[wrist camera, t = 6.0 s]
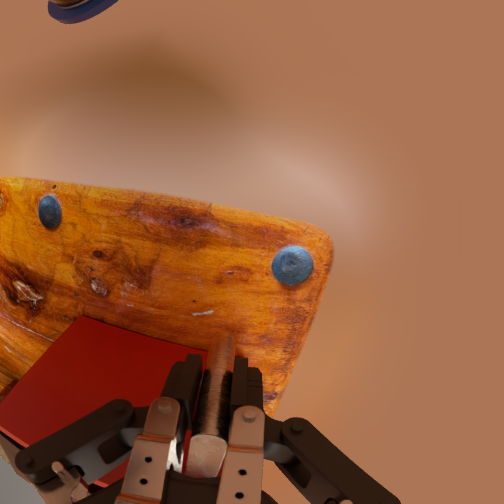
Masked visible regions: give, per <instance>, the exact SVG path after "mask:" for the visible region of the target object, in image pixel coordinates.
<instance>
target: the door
mask: <svg viewBox="0 0 504 504" xmlns="http://www.w3.org/2000/svg"><path fill="white" fill-rule="evenodd" d="M235 349H236V340H235V338H234V336H233V335H232V334H230V333H228V332H223V331H222V332H217V333H215V334H214V335H213V336H212V337H211V341H210V345H209V350H208V352H207V351H203V350H198V349H194V348H190V347H186V346H182V345H178V344H174V343H170V342H166V341H162V340H159V339H155V338H151V337H148V336H144V335H141V334H137V333H134V332H131V331H128V330H124V329H121V328H118V327H115V326H112V325H109V324H106V323H103V322H100V321H97V320H94V319H91V318H88V317H86V316H83V315H80V316H79V317H78V318H77V319H76V320H75V321H74V322H73V323H72V324H71V325H70V326H69V327H68V328H67V330H66V331H65V332H64V333H63V334H62V335H61V336H60V337H59V338H58V339H57V340H56V341H55V342H54V343H53V344H52V345H51V346H50V347H49V348H48V349H47V351H46V352H45V353H44V354H43V355H42V356H41V357H40V358H39V359H38V360H37V361H36V363H35V364H34V365H33V366H32V367H31V368H30V369H29V370H28V372H27V373H26V374H25V375H24V376H23V377H22V378H21V380H20V381H19V382H18V383H17V384H16V385H15V387H14V388H13V389H12V390H11V391H10V393H9V394H8V395H7V396H6V397H5V399H4V400H3V401H2V402H1V404H0V430H1V431H2V432H4V433H5V434H6V435H8V436H9V437H11V438H12V439H13V440H15V441H16V442H18V443H19V444H21V445H22V446H24V447H25V448H26V447H28V446H30V445H32V444H34V443H36V442H38V441H40V440H42V439H44V438H45V437H47V436H49V435H51V434H53V433H55V432H57V431H59V430H60V429H62V428H64V427H66V426H68V425H69V424H71V423H73V422H75V421H77V420H78V419H80V418H82V417H84V416H86V415H87V414H89V413H91V412H92V411H94V410H96V409H98V408H99V407H101V406H103V405H104V404H106V403H108V402H110V401H111V400H114V399H125V400H128V401H129V402H131V403H132V405H133V407H142V406H149V405H151V403H152V401H154V400H155V399H157V398H159V397H160V395H161V392H162V390H163V387H164V384H165V382H166V379H167V377H168V374H169V372H170V369H171V366H172V365H173V364H175V363H176V362H177V361H184V362H185V360H186V357H187V354H188V353H195V354H202V362H203V378H202V383H201V388H200V393H199V397H198V402H197V407H196V412H195V417H194V422H193V427H192V431H191V430H187V432H186V436H185V447H184V455H183V463H182V474H184V475H187V476H190V477H192V478H210V477H220V476H221V475H222V469H223V464H224V458H225V453H226V448H227V446H228V443H229V438H230V435H229V429H230V426H229V420H230V398H231V387H232V377H233V367H234V357H235ZM129 459H130V458H128V459H127V460H126V461H124V462H123V463H121V464H120V465H118V466H117V467H116V468H114V469H113V470H111V471H110V472H108V473H107V474H105V475H104V476H102V477H101V478H99V479H98V480H96V481H95V482H93V483H94V484H96V485H99V486H101V487H104V488H105V487H107V486H108V485H110V484H112V483H114V482H116V481H118V480H119V479H121V478H123V477H125V474H126V470H127V466H128V463H129Z"/></svg>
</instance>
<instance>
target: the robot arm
mask: <svg viewBox="0 0 504 504" xmlns="http://www.w3.org/2000/svg"><path fill="white" fill-rule="evenodd" d="M49 1H51V2H52V3H54V4H55V5H56V6H57V7H58V8H60V9H62V10H72V9H75V8H78V7H81V6H83V5H85V4H87V3H89V2H91V1H93V0H49ZM202 378H203V362H202V354H195V353H188V354H187V357H186V360H185V362H184V361H177V362H176V363H175V364H173V365H172V366H171V369H170V372H169V374H168V377H167V379H166V382H165V384H164V387H163V390H162V392H161V395H160V397H159V398H157V399H155V400H154V401H152V403H151V405H149V406H142V407H133V405H132V403H131V402H129V401H128V400H125V399H114V400H111V401H110V402H108V403H106V404H104V405H103V406H101V407H99V408H98V409H96V410H94V411H92V412H91V413H89V414H87V415H86V416H84V417H82V418H80V419H78V420H77V421H75V422H73V423H71V424H69V425H68V426H66V427H64V428H62V429H60V430H59V431H57V432H55V433H53V434H51V435H49V436H47V437H45V438H44V439H42V440H40V441H38V442H36V443H34V444H32V445H30V446H28V447H26V448H24V449H22V450H20V451H19V452H18V453H17V454H16V456H15V465H16V467H17V468H18V470H19V471H20V472H21V473H22V474H23V475H24V476H25V478H26V479H27V480H28V481H29V482H30V483H31V484H32V485H33V486H34V487H35V488H36V489H37V490H38V492H39V494H40V495H41V497H42V498H43V499H44V501H45V502H46V504H278V503H277V502H276V501H275V500H274V499H273V498H272V497H271V496H270V495H268V494H267V493H266V492H264V491H263V490H261V489H262V474H263V459H267V460H271V461H274V462H275V464H276V466H277V467H278V468H279V469H280V470H281V471H282V473H283V474H284V475H285V476H286V477H287V478H288V479H289V481H290V482H291V483H292V484H293V485H294V486H295V487H296V488H297V489H298V490H299V492H300V493H301V494H302V495H303V496H304V497H305V498H306V499H307V500H308V501H309V502H310V503H311V504H401V502H400V501H399V499H398V498H397V497H396V496H394V495H393V494H392V493H390V492H389V491H388V490H387V489H385V488H384V487H383V486H382V485H380V484H379V483H378V482H377V481H375V480H374V479H373V478H372V477H371V476H369V475H368V474H367V473H366V472H364V471H363V470H362V469H361V468H360V467H359V466H357V465H356V464H355V463H354V462H353V461H351V460H350V459H349V458H348V457H347V456H346V455H345V454H343V453H342V452H341V451H340V450H339V449H338V448H337V447H336V446H334V445H333V444H332V443H331V442H330V441H329V440H328V439H327V438H326V437H325V436H324V435H323V434H321V433H320V432H319V431H318V430H317V429H316V428H315V427H314V426H313V425H312V424H311V423H310V422H309V421H307V420H305V419H303V418H298V417H297V418H295V417H294V418H289V419H287V420H286V421H284V422H282V421H277V420H274V419H272V418H270V417H269V416H267V415H266V413H265V412H264V410H263V390H262V373H261V372H260V370H259V369H258V368H255V367H248V358H242V357H234V367H233V377H232V387H231V398H230V420H229V426H230V429H229V435H230V438H229V443H228V446H227V448H226V453H225V458H224V464H223V469H222V475H221V476H220V477H210V478H192V477H190V476H187V475H184V474H182V463H183V455H184V447H185V436H186V432H187V430H191V431H192V427H193V422H194V417H195V412H196V407H197V402H198V397H199V393H200V388H201V383H202ZM128 458H130V459H129V463H128V466H127V470H126V474H125V477H123V478H121V479H119V480H118V481H116V482H114V483H112V484H110V485H108V486H107V487H105V488H103V489H101V490H99V491H97V492H95V493H93V494H91V495H89V496H87V493H88V489H89V488H88V485H90V484H91V483H93V482H95V481H96V480H98V479H99V478H101V477H102V476H104V475H105V474H107V473H108V472H110V471H111V470H113V469H114V468H116V467H117V466H118V465H120V464H121V463H123V462H124V461H126V460H127V459H128ZM86 496H87V497H86Z"/></svg>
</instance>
